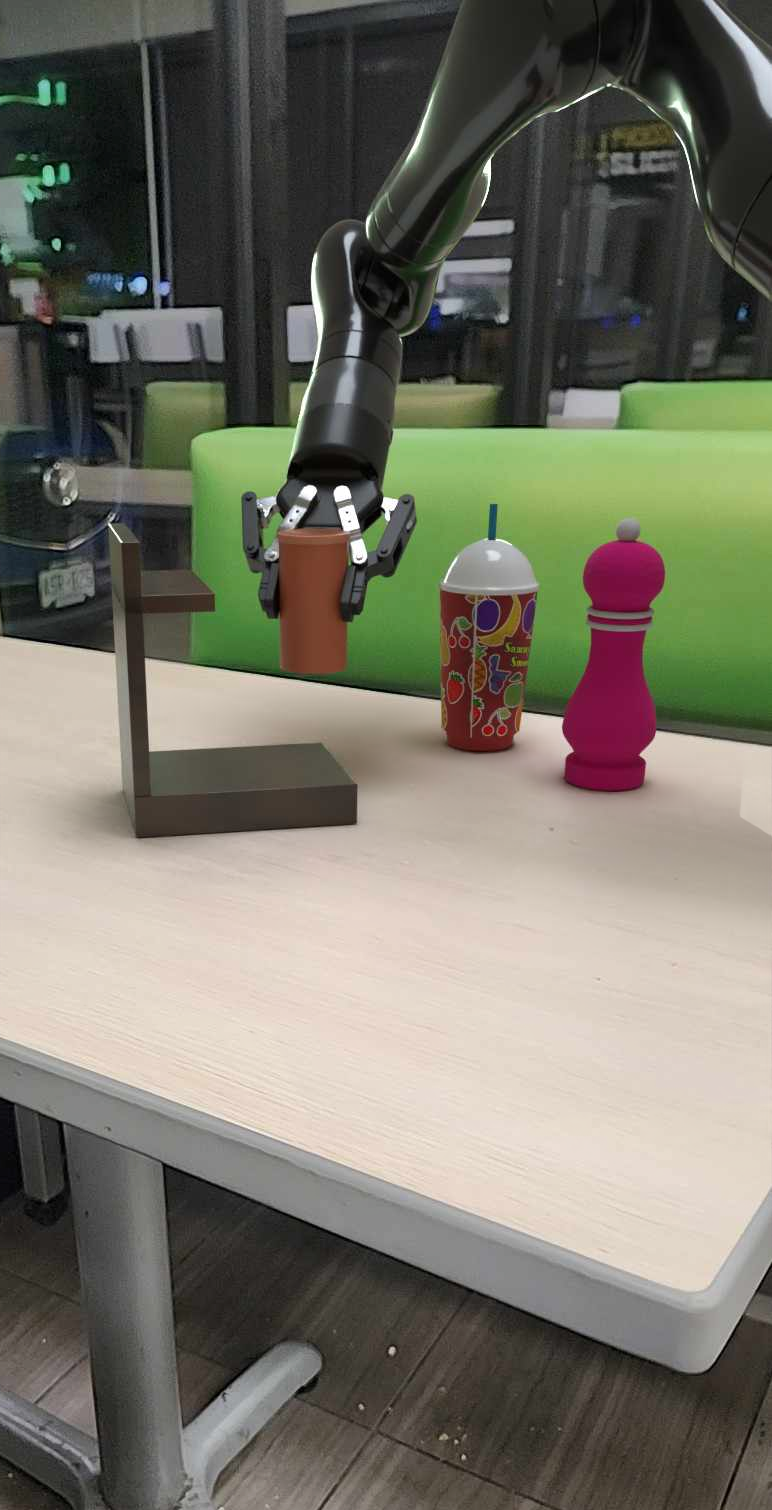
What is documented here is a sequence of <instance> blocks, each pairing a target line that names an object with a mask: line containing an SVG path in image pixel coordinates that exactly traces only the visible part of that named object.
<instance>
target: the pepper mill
mask: <svg viewBox="0 0 772 1510" xmlns="http://www.w3.org/2000/svg"><path fill="white" fill-rule="evenodd" d="M641 530H642V529H641V525H640V523H639V521H638V520H637V519H635V518H632V517H626V518H624V519H622V520H620V521H619V522H618V523H617V525H616V528H615V535H616V538H617V539H616V540H611V541H608V542H606V543H604V544H602V545H600V546H598V547H597V548H596V549H595V550H593V551H592V553H591V554H590V555H589V556H588V558H587V560H586V563H585V565H584V568H583V573H582V574H583V575H582V585H583V588H584V592H585V593H586V594H587V596H588V597H589V599H590V600H591V605H589V606H587V608H586V613H587V618H586V620H585V625H586V626H587V627H589V628H590V648H589V655H588V661H587V664H586V667H585V669H584V672H583V675H582V676H581V678H580V680H579V682H578V684H577V685H576V688H575V690H574V691H573V693H572V695H571V696H570V698H569V700H568V703H567V705H566V708H565V710H564V713H563V718H562V723H561V724H562V725H561V731H562V734H563V737H564V739H565V740H566V742H567V743H568V745H569V746H570V748H571V749H572V752H570V753H569V754H567V755H566V756H565V761H564V772H563V777H564V779H565V781H566V782H567V783H569V784H570V785H573V786H575V787H579V788H583V789H587V790H592V791H601V792H603V791H604V792H620V791H629V790H633V789H637V788H639V787H641V786H642V785H643V784H644V782H645V776H646V767H647V762H646V759H644V757H642V756H641V754H642V752H644V750H645V749H647V747H648V746H650V744H651V743H652V742H653V741H654V739H655V737H656V733H657V713H656V707H655V703H654V700H653V697H652V694H651V691H650V689H649V686H648V683H647V679H646V675H645V670H644V663H643V660H644V659H643V657H644V644H645V640H646V635H647V630H650V629H651V628H653V626H654V622H653V616H654V615H655V609H654V608H653V607H650V606H651V604H652V602H653V601H654V600H655V599H656V598H657V597H658V596H659V595H660V593H661V592H662V591H663V588H664V585H665V581H666V568H665V567H666V566H665V563H664V560H663V558H662V555H661V554H660V553H659V551H658V550H657V549H656V548H655V547H653V546H652V545H650V544H648V543H646V542H643V541H639V540H637V539H639V537H640V535H641Z"/></svg>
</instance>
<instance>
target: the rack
mask: <svg viewBox="0 0 772 1510" xmlns="http://www.w3.org/2000/svg"><path fill="white" fill-rule="evenodd" d="M107 527H108V547H109V564H110V565H109V566H110V581H111V583H110V584H111V599H112V618H113V637H114V639H113V641H114V655H115V656H114V657H115V671H116V672H115V674H116V675H115V677H116V693H117V711H118V728H119V729H118V731H119V747H120V749H119V750H120V767H121V785H122V793H123V796H124V799H125V802H126V807H127V809H128V813H129V816H130V820H131V824H132V827H133V831H134V834H135V837H136V838H138V839H139V838H155V837H168V836H185V835H200V834H216V833H231V832H232V833H233V832H247V831H263V830H264V831H265V830H278V829H281V830H282V829H294V828H309V827H310V828H311V827H312V828H313V827H325V826H326V827H327V826H342V825H356V824H357V823H358V793H359V792H358V788H359V786H358V785H359V784H358V783H357V782H356V780H355V779H354V778H353V777H352V776H351V775H350V773H349V772H348V771H347V770H346V769H345V768H344V766H342V765H341V763H340V762H339V761H338V760H337V758H336V757H335V756H334V755H333V754H332V753H331V751H329V749H328V748H327V747H326V746H325V744H324V743H323V742H308V743H307V742H306V743H305V742H304V743H303V742H302V743H286V744H285V743H284V744H267V745H247V746H232V747H231V746H229V747H228V746H227V747H210V748H191V749H171V750H153V751H151V750H150V741H149V739H150V737H149V717H148V694H147V693H148V692H147V674H146V673H147V672H146V670H147V669H146V649H145V632H144V631H145V629H144V628H145V627H144V615H159V614H160V615H161V614H163V615H164V614H187V613H191V614H192V613H214V612H216V594H215V593H214V591H213V590H212V589H211V588H210V587H209V586H208V585H207V584H206V583H205V582H204V581H203V580H202V579H201V578H200V577H199V575H198V574H197V573H196V572H195V571H194V570H193V569H164V570H163V569H162V570H142V565H141V564H142V563H141V543H140V541H139V539H138V538H137V537H136V535H134V533H133V532H132V531H131V529H130V528H129V527H128V526H127V525H126V523H125V522H109V523H108V524H107Z"/></svg>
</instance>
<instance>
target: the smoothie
mask: <svg viewBox="0 0 772 1510" xmlns="http://www.w3.org/2000/svg"><path fill="white" fill-rule="evenodd" d="M498 505H499V504H498V503H490V504H489V510H488V511H489V513H488V529H487V538H483V539H479V540H476V541H473V542H472V543H470V544H468V545H466V546H465V547H463V548H462V549H461V550H460V551H459V552H458V553H457V554H456V555H455V556H454V558H453V559H452V560H451V562H450V563H449V564H448V567H447V569H446V571H445V574H444V576H443V578H442V579H440V581H439V582H438V588H439V643H440V645H439V647H440V650H439V651H440V713H441V714H440V715H441V716H440V717H441V718H440V719H441V721H440V722H441V726H440V727H441V729H442V730H443V731H444V732H445V734H446V743H448V744H449V745H450V746H452V747H454V748H456V749H459V750H464V751H471V752H493V751H501V750H504V749H507V748H509V747H511V746H513V741H514V738H515V735H516V734H517V733H519V732H520V728H521V723H522V722H521V721H522V713H523V707H524V698H525V692H526V685H527V676H528V668H529V661H530V655H531V646H532V638H533V633H534V624H535V615H536V608H537V602H538V601H537V600H538V593H539V589H540V585H541V584H540V582H539V581H537V579H536V576H535V572H534V570H533V569H534V568H533V566H532V564H531V562H530V560H529V559H528V557H527V556H526V555H525V554H524V552H523V551H522V550H521V549H520V548H518V547H517V546H516V545H514V544H512V543H510V542H508V541H506V540H504V539H500V538H496V537H497V524H498V523H497V522H498V507H499V506H498Z"/></svg>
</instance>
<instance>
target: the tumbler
mask: <svg viewBox="0 0 772 1510" xmlns="http://www.w3.org/2000/svg"><path fill="white" fill-rule="evenodd" d="M276 535H277V540H278V542H279V616H278V621H279V624H278V625H279V626H278V627H279V628H278V629H279V668H280V669H281V670H282V671H284V672H288V673H292V674H301V675H325V674H332V673H338V672H341V671H342V672H343V671H344V670H346V669H347V667H348V628H349V627H348V625H349V622H343V621H342V616H341V612H340V600H341V595H342V589H343V584H344V579H345V573H346V569H347V565H349V555H348V550H349V541H350V532H349V531H344V530H339V529H294V530H283V531H279V532H278V533H277V532H276Z"/></svg>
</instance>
